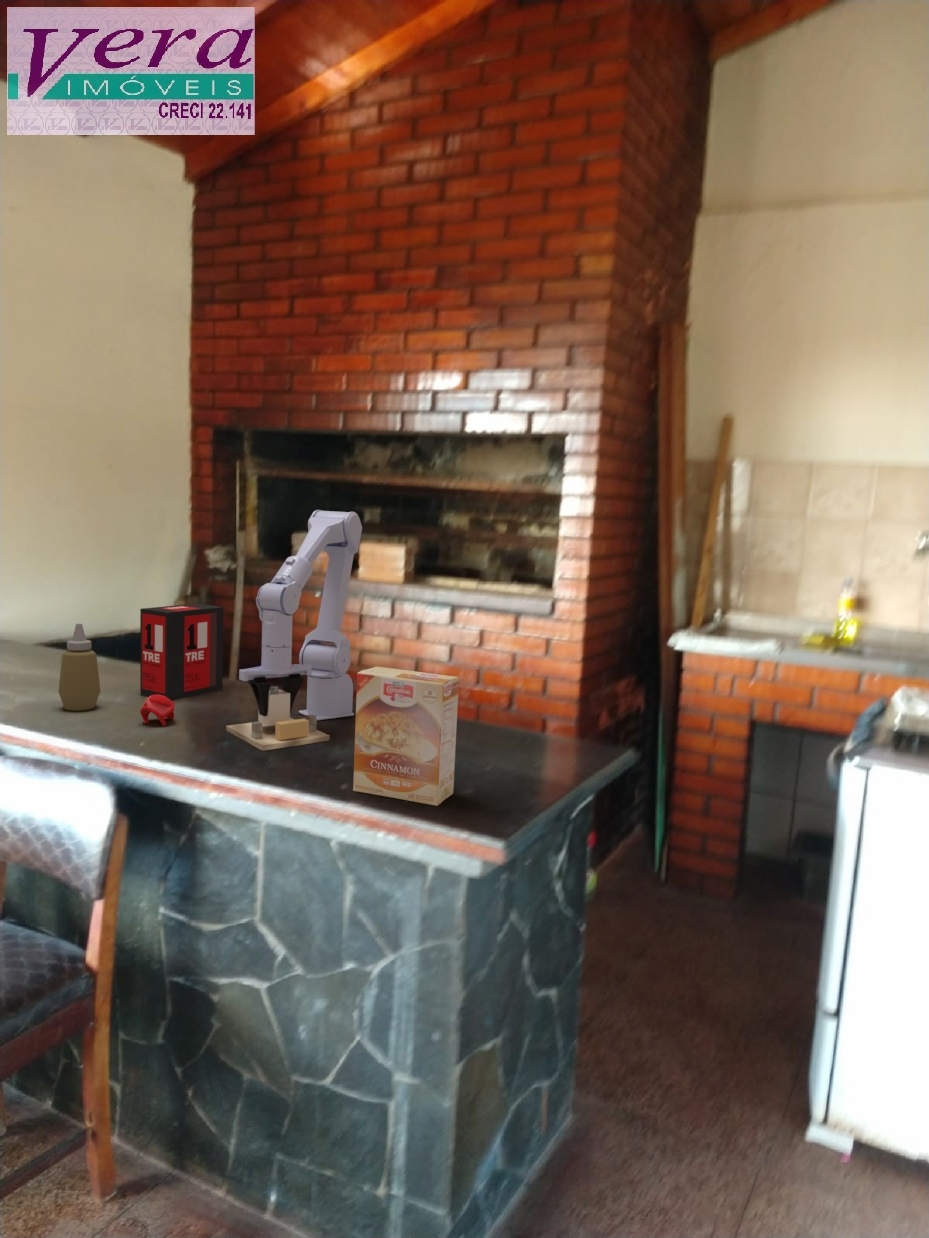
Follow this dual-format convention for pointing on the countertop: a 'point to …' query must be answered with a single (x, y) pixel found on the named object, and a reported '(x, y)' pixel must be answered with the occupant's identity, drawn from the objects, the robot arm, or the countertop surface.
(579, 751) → the countertop surface
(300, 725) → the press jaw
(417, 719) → the coffeecake box
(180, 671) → the cleaning product box
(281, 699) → the block
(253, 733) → the press bed
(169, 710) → the red toy chair
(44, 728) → the countertop surface
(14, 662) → the countertop surface
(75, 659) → the squeeze bottle
